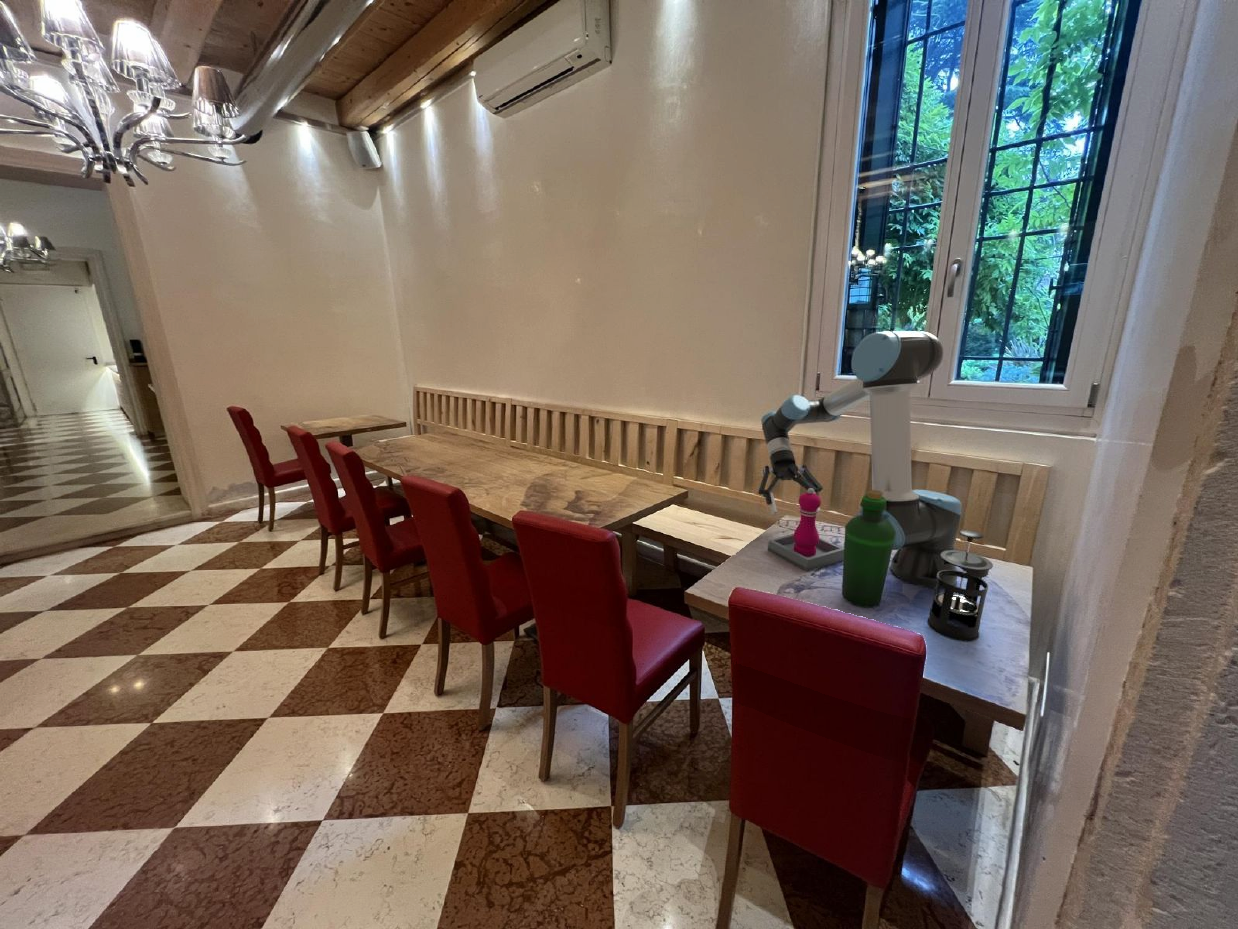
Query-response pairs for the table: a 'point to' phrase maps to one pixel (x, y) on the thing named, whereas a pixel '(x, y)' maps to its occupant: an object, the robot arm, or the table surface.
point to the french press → (958, 605)
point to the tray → (824, 556)
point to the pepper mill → (807, 524)
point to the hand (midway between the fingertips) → (796, 513)
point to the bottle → (867, 552)
